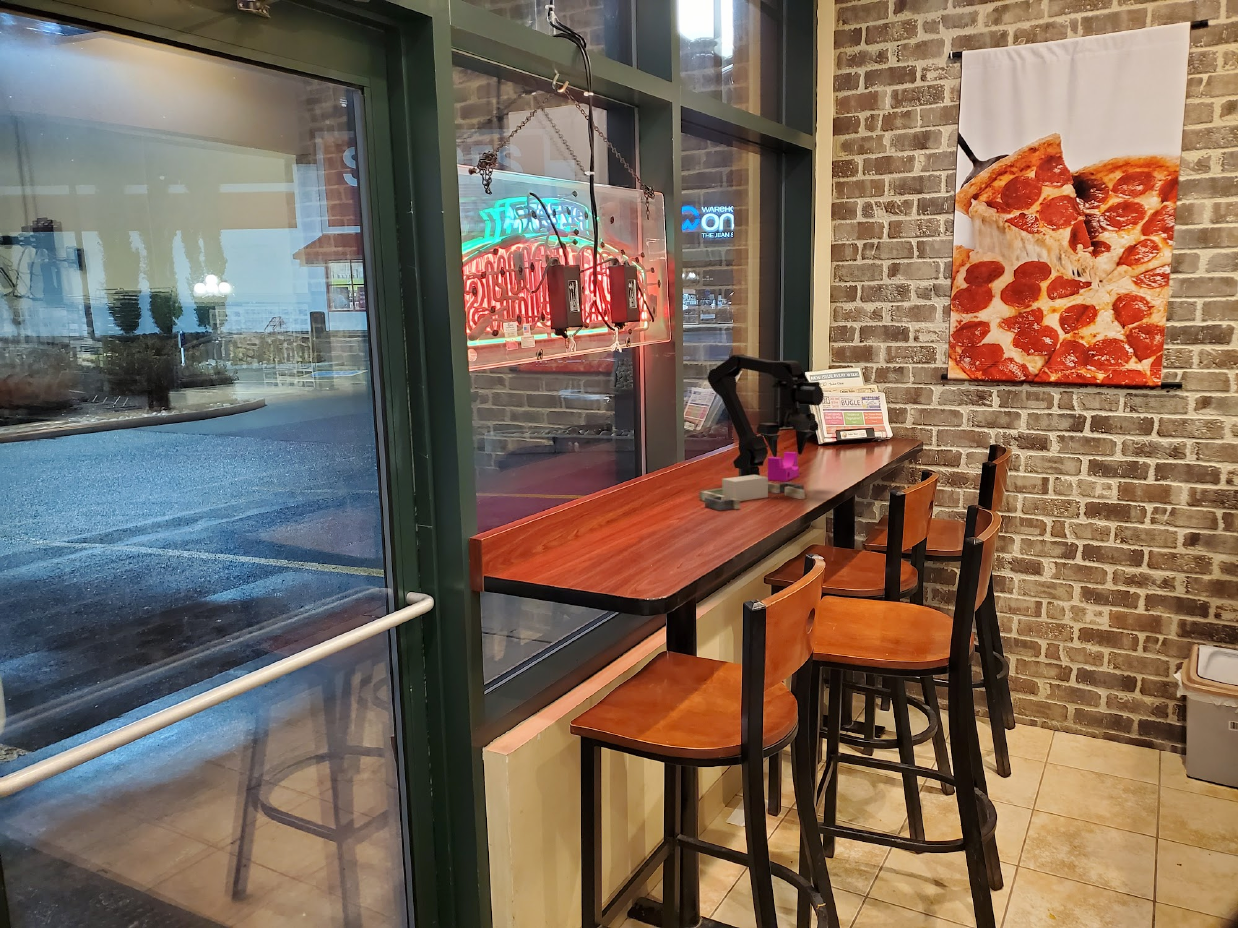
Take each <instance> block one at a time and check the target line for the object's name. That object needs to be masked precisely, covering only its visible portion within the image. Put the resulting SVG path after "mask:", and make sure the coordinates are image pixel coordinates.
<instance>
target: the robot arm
mask: <svg viewBox="0 0 1238 928" xmlns="http://www.w3.org/2000/svg"><path fill="white" fill-rule="evenodd" d="M743 369H744V370H747V371H748V370H749V371H753V372H758V373H763V374H767V375H769V376H771V377H772V378H773V379H775V380H777V381H776V382H775V383H773V384H772V388H773V389H778V406H775V410H776V411H778V413H777V414H778V418H777V420H775V423H773V422H762V423H758V425H757V427H756V428H757V429H756V433H757V434H760V435H757V434H756V433H755V432H754V430H753V427H752V425H751V423H750V420H749V417H748V416H747V413H746V411H745V409H744V407H743V405H742V402H741V400H740V398H739V395H738V392H737V383H738V382H737V379H736V378H737V377H738V376H739V375H740V374H741V372H742V370H743ZM707 382H708V384H709V386H710V387H711V388H712V390H713V391H714V393H716V394H717V395H718V396H719V397H720V398H721V399H722V402H723V404H724V406H725V407H724V408H725V410H726V412H727V414H728V416H729V419H730V420H731V423H732V426H733V428H734V430H735V433H736V435H737V437H738V452H739V454H738V456H737V457H735V459H734V460H733V461H732V462H733V466H734V468H735V469H738V477H740V476H748V475H759V476H761V475H760V467H763V466H764V464H765V460H766V459H767V458H768V455H769V450H770V452H771V455H772V457H778V456H777V455H778V440H779V439H780V436H781V435H780V434H778V433H779V432H780V431H791V430H792V431H793V430H794V431H795V438H796V439H795V440H796V449H797V455H800V456H801V455H802V454H803V451H804V449H805V446H806V443H807V441H808V439H809V438H810V436H812V435H814V434H815V433H816V431H819V423H818V422H817V421H818V420H816V415H815V414H814V412H807V413H805V414H803V413H802V407H801V406H799V405H802V406H803V405H804V406H816V407H817V406H821V404H822V402H823V401H824V396H825V395H824V391H823V389H822V387H821V385H820V384H821V383H820V382H819V381H809V379H808V377H807V376H806V374H805V372H804V370H803V368H802V365H801V364H800V362H799V361H797V360H772V359H771V360H770V359H765V358H761V357H760V358H759V357H754V356H750V355H745V354H743V353H741V354H740V353H739V354H733V355H731V356H730V357H729V358H727V360H725V361H723V362H722V363H720V364H719V365H717V366H716V367H715V368H712V369H710V371H709V372H708V376H707ZM768 449H769V450H768Z"/></svg>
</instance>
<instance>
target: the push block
mask: <svg viewBox="0 0 1238 928" xmlns="http://www.w3.org/2000/svg"><path fill="white" fill-rule="evenodd" d="M768 482H769V480H768V476H764V475H760V476H759V475H748V476H740V477H739V476H734V477H726V478H721V488H722V495H723V496H725V500H726V499H733V498H735V499H739V500H740V502H743V501H749V500H755V499H763V498H769V492H768Z"/></svg>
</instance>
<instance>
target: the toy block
mask: <svg viewBox="0 0 1238 928" xmlns="http://www.w3.org/2000/svg"><path fill="white" fill-rule="evenodd" d="M783 453H784V454H783V457H778V456H777V457H773V456H770V457H767V477H768V481H773V482H774V481H777V482H789V481H791V480H792V479H795V478H797V477H800V476H799V475H800V466H798V451H797V452H795V451H785V452H783Z"/></svg>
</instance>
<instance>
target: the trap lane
mask: <svg viewBox="0 0 1238 928" xmlns="http://www.w3.org/2000/svg"><path fill="white" fill-rule="evenodd" d="M804 487H805V485H803V484H800V483H799V484H798V483H794V482H790V481H785V482H780V483H774V482H770V481H768V493H772V494H781V493H784V496H785V497H790V498H794V499H799V500H802V499H803V500H804V499H805V498H806V496H805V495H806V493H805V492H806V491H805V488H804ZM698 494H699V496H698V497H699V499H698V500H700V501H703V502H704V507H705V508H709V509H713V510H715V511H726V510H727V511H728V510H732V509H733V510H738V509H739V510H740V509H741V508H740V505H741V504H740V503H741V501H740V500H739V499H735V498H733V499H725V496H723V495H722V487H720V488H713V489H712V488H711V489H706V490H705V489H704V490H700V491H699V493H698Z"/></svg>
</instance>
